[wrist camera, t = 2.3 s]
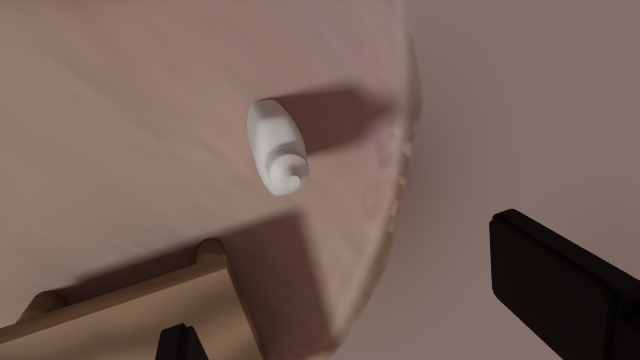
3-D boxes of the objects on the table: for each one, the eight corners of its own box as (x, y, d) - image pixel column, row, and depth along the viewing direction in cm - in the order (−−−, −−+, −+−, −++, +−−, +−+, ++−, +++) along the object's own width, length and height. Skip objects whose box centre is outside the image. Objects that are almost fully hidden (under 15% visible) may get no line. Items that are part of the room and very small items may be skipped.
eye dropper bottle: (303, 109, 31) (347, 146, 20) (281, 169, 33) (311, 234, 22) (253, 91, 30) (273, 120, 19) (232, 155, 31) (239, 217, 20)
